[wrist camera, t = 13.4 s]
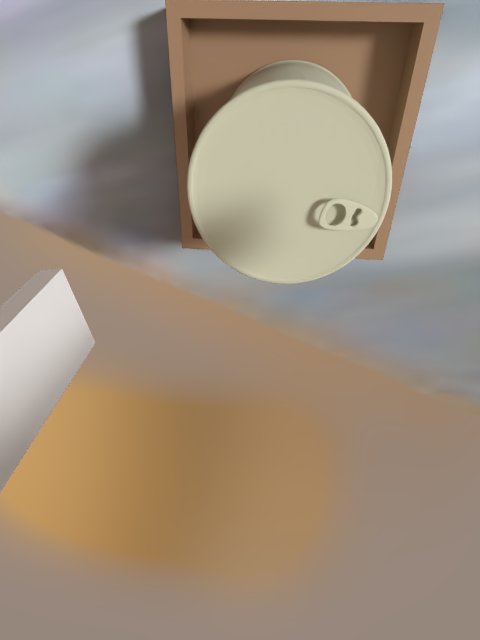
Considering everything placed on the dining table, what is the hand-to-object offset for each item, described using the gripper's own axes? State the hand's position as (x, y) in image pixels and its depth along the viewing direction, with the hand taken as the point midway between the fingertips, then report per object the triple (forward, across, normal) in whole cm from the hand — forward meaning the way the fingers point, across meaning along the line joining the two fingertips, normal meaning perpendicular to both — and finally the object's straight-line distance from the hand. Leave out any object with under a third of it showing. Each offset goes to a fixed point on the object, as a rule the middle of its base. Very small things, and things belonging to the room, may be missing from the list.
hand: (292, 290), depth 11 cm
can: (+20, 0, 0) cm, 20 cm away
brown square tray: (+21, 0, 0) cm, 21 cm away
